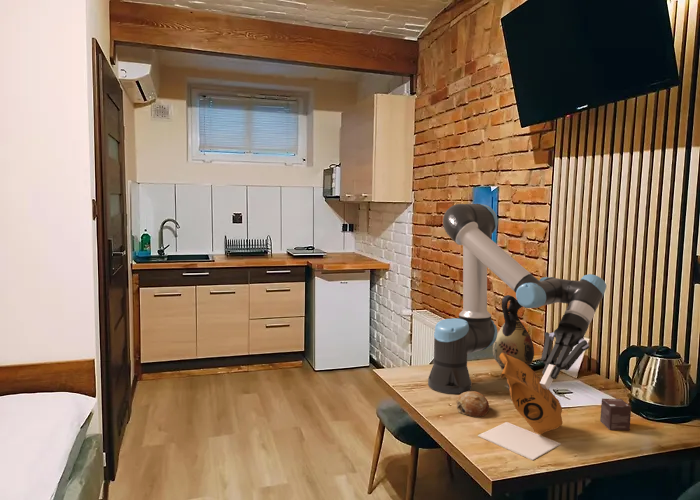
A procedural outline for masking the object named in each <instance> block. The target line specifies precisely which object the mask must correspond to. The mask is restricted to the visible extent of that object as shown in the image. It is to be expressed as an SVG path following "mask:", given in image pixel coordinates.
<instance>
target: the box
mask: <svg viewBox="0 0 700 500" xmlns="http://www.w3.org/2000/svg"><path fill="white" fill-rule="evenodd" d="M600 407H601V409H600V419H599V420H600V423H601V424H602V425H604V426H605V427H606V428H607V429H608V430H610V431H630V430H631V429H630V428H631V419H632V418H631V417H632V416H631V415H632V406H631V405H630V404H629V403H628V402H626V401H625V400H623V399H622V398H601V406H600Z"/></svg>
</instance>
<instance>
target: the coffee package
mask: <svg viewBox="0 0 700 500" xmlns="http://www.w3.org/2000/svg"><path fill="white" fill-rule="evenodd" d="M499 357H500V359H501V361H502V362H503V364H505V367H504V369H503V371H501V374H500V378H501V379H504V378H506V383H507V386H508V390H509V395H510V396H509V397H510V399H511V401H512V404H513V406H514V408H515V409H516V411H517V412H518V413H519V414H520V415H521V416H522V418H524V419H525V421H526V422H527V423H528V424H529V426H530V427H531V428H532V430H533V431H534V433H536V434H538V435H543V434H544V433H546V432H550V431H552V430H556V429H558V428H559V427H560V426H562V425H563V423H564V422H563V418H562V412H563V408H562V405H561V402H560V400H559V399H558V398H557V397H556V396H555V395H554V394H553V392H552V391H551V390H550V388H549V389H548V390H547V389H544V388H542V386H541V384H540V381H541V379H542V377H540V376H539V375H538V374H537V373H536V372H535V371H534V369H532V368H531V367H530V365H529V366H528V365H527V364H525V363H524V362H522V361H521V360H519V359H516V358H514V357H512V356H509V355H507V354H505V353H501V354H500V356H499Z"/></svg>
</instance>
